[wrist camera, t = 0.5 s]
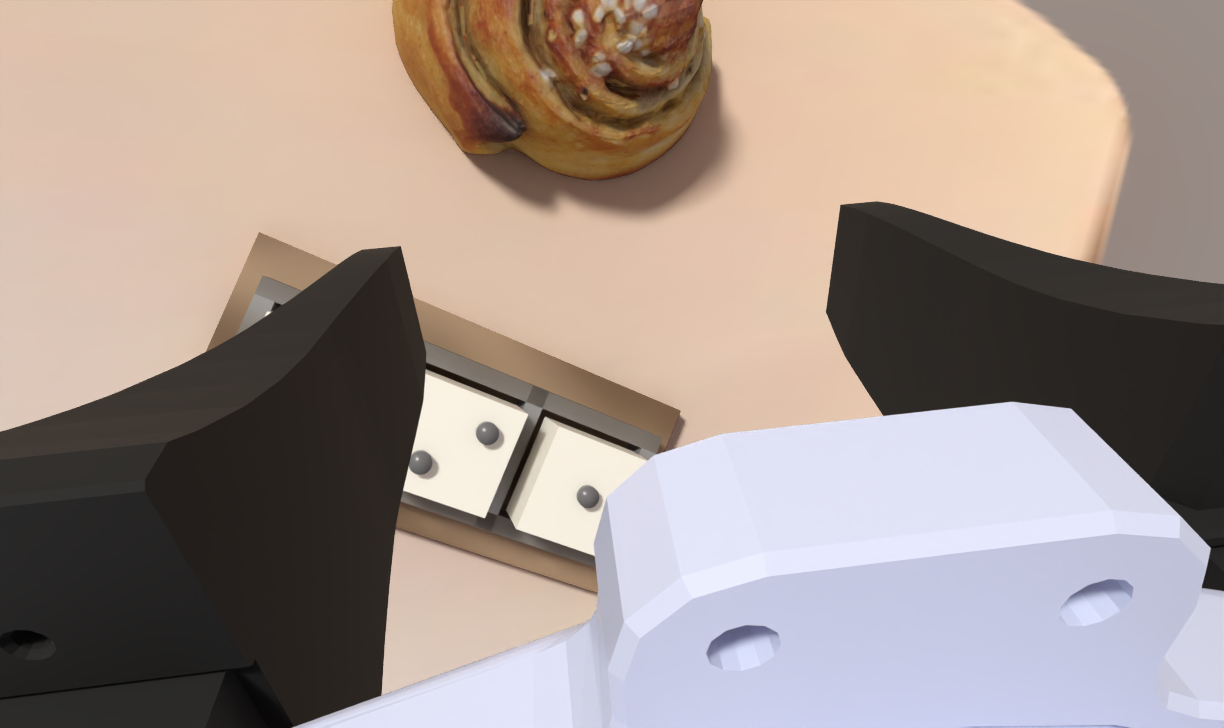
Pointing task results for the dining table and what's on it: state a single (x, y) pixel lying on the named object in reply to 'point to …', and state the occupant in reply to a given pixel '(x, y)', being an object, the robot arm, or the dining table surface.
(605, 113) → the pastry
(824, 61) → the dining table surface
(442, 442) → the tile two
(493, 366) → the board
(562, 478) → the tile one
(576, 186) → the dining table surface
